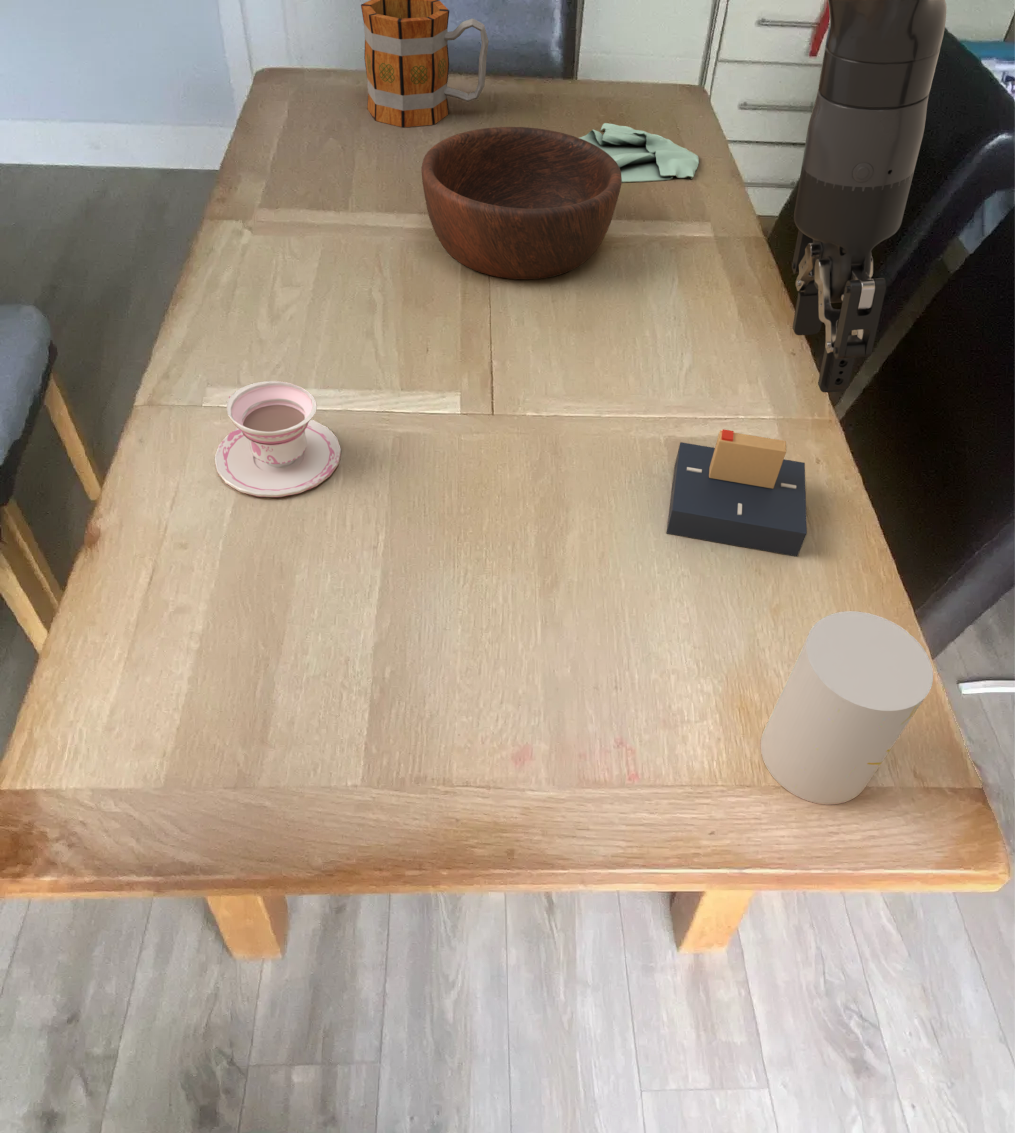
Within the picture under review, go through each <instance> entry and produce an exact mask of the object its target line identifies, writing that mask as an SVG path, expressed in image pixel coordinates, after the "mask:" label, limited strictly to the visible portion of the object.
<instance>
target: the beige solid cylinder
mask: <svg viewBox="0 0 1015 1133" xmlns="http://www.w3.org/2000/svg"><path fill="white" fill-rule="evenodd" d="M933 682H934V670H933V665H932V662H931V659H930V657H929V655H928V653H927V651H926V650H925V648H924V647H923V646H922V645H921V643H920V642H919V641H918V640H917V639H916V637H914V636H913V635H912V634H911V633H910V632H909V631H907V630H906V629H905V628H903V626H900V625H899V624H897V623H896V622H893V621H892V620H890V619H887V618H885V617H882V616H880V615H876V614H873V613H871V612H870V613H869V612H865V611H857V610H846V611H839V612H834V613H833V612H832V613H831V614H828V615H826V616H823V617H822V618H820V619H819V620H818V621H817V622H815V623H814V625H813V626H812V627H811V628H810V630H809V632H808V634H807V636H806V639H805V640H804V643H803V645H802V647H801V649H800V652H799V653H798V656H797V658H796V660H795V661H794V664H793V666H792V668H791V670H790V673H789V675H788V677H787V679H786V681H785V683H784V686H783V687H782V690H781V692H780V694H779V696H778V698H777V700H776V703H775V704H774V706H773V707H774V708H773V709H772V711H771V713H770V715H769V718H768V720H767V722H766V724H765V727H764V729H763V731H762V734H761V737H760V753H761V757H762V761H763V763H764V765H765V767H766V769H767V770H768V772H769V774H770V775H771V776H772V778H773V779H774V780H775V782H777V783H778V784H779V785H780V786H781V787H782V788H784V789H785V790H786V791H788V792H789V793H791V794H792V795H794V796H796V797H797V798H799V799H801V800H804V801H807V802H810V803H814V804H817V805H818V804H819V805H831V806H832V805H838V804H839V805H840V804H844V803H846V802H849V801H852V800H853V799H855V798H856V797H858V796H859V795H860V794H862V793H863V791H864V790H865V789H866V787H867V786H868V785H869V783H870V781H871V779H872V778H873V776H874V775H875V773H876V772H877V770H878V769H879V768H880V766H881V765H882V763H883V761H884V760H885V759H886V757H887V755H888V754H889V753H890V751H891V750H892V748H893V747H894V745H895V744H896V742H897V741H898V739H899V738H900V736H901V735H902V733H903V732H904V730H905V729H906V727H907V726H908V725H909V723H910V722H911V720H912V719H913V717H914V715H915V714H916V713H917V711H918V709H919V708H920V706H921V705H922V704H923V702H924V701H925V699H926V698H927V696H928V695H929V693H930V691H931V688H932V687H933Z"/></svg>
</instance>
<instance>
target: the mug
mask: <svg viewBox="0 0 1015 1133" xmlns="http://www.w3.org/2000/svg"><path fill="white" fill-rule="evenodd" d="M360 8H361V14H362V21H363V32H364V66H365V73H366V81H367V84H366V85H367V103H366V105H367V106H366V108H367V110H368V112H369V114H370V115H371V117H372V118H373V120H374V121H375V122H379V123H382V124H383V123H384V124H388V125H391V126H394V127H395V126H396V127H400V128H413V127H422V126H424V127H425V126H432V125H436V124H437V123H439V122H440V121H442V120H443V119H444V118H446V117H447V116H448V115H450V108H449V101H448V100H449V99H448V97H449V98H455V99H458V100H460V101H464V102H466V103H470V102H472V101H474V100H478V99H479V98H480V96H481V94H482V92H483V90H484V88H485V84H486V74H487V58H488V57H487V56H488V50H489V42H490V41H489V37H488V34H487V31H486V26H485V24H484V23H482V22H480V21H479V20H477V19H476V18H470V19H467V20H464V21H462V22H461V23H460V24H458V26H457V27H456V28H455V29H454V30H452V31H449V30H448V27H449V19H450V9H448V7H446V5H445V4H443V2H442V1H441V0H368V1H365V2H363V3H361V4H360ZM470 28H474V29H476V30H477V31H479V33H480V39H481V45H480V50H479V56H478V75H477V85H476V88H475V90H474V91H472V92H469V93H467V92H465V91H463V90H460V89H458V88H453V87H449V86H448V80H449V71H450V70H449V69H450V57H449V46H448V44H449V43H448V42H449V41H455V40H457V39H458V38H459V37H460V36H461V35H462V34H463V33H464V32H465V31H466V30H468V29H470Z"/></svg>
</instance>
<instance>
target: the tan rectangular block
mask: <svg viewBox="0 0 1015 1133" xmlns="http://www.w3.org/2000/svg"><path fill="white" fill-rule="evenodd" d="M714 448H715V450H714V453H713V457H712V461H711V464H710V469H709V478H713V479H718V480H724V481H730V482H736V483H742V484H748V485H754V486H760V487H766V488H771V489H773V488H774V485H775V482H776V480H777V477H778V474H779V471H780V468H781V465H782V463H783V460H784V459H785V457H786V454H787V441H786V440H782V439H775V438H769V437H763V436H758V435H751V434H745V433H739V432H735V431H734V430H729V429H725V428H722V430H719V432H718V435H717V440H716V442H715V446H714Z"/></svg>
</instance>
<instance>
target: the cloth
mask: <svg viewBox="0 0 1015 1133" xmlns="http://www.w3.org/2000/svg"><path fill="white" fill-rule="evenodd" d="M603 130H604V133H601V131H603ZM579 138H580V139H583V140H585V141H588V142H590V143H592V144H594V145H596V146H598V147H599V148H601V149H602V150H604V151H605V152H606V153H608V154H609V155H610V156H611V157H612V158H613V159H614V160H615V161H616V163H617V164H618V166H619V168H620V171H621V177H622V183H640V182H642V183H644V182H661V181H669V180H672V179H673V178H674V177H676V178H677V179H688V180H692V179H694V177H695V174H696V172H697V170H698V167H699V165H700V159H699V155H698V154H696V153H694V152H692V151H691V150H688V149H687V148H686V147H682V146H680V145H678V144H677V143H674V142H673V141H672V140H671V139H669V138H665V137H664V136H663V135H662V136H661V135H659V134H656V133H650V132H647V131H645V130H642V129H634V128H633V127H630V126H627V125H618V124H614V123H607V122H604V123H603V124H602V125H601V127H600V131H599V130H596V129H594V128H592V130H590V131H589V132H587V134H585V135H583V136H579Z"/></svg>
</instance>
